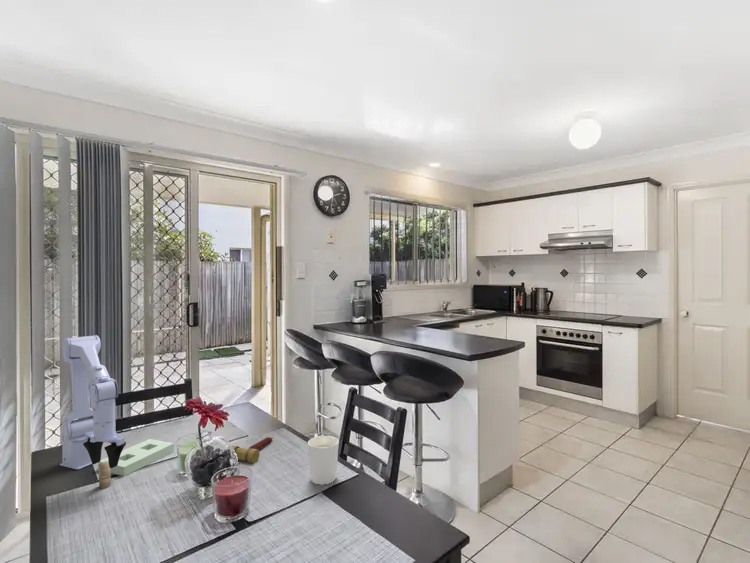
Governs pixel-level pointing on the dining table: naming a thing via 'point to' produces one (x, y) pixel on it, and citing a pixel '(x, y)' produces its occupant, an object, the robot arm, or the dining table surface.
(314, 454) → the candle holder
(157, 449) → the hole board
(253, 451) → the gavel
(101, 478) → the maple peg
